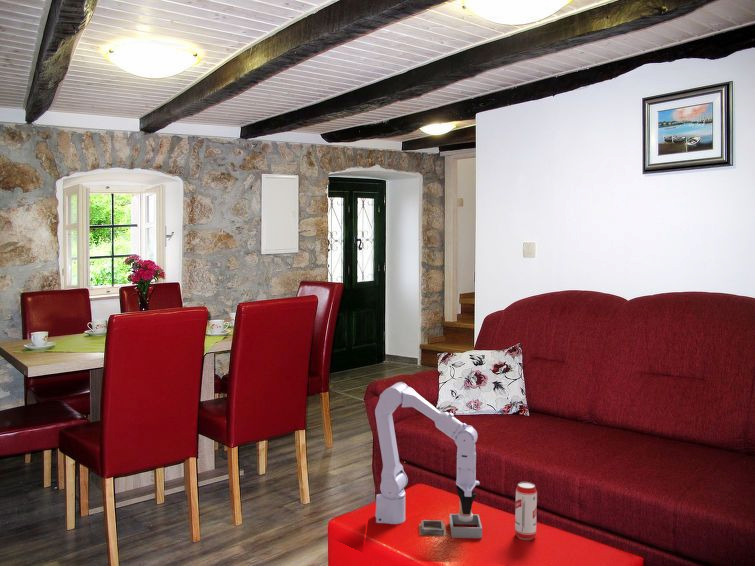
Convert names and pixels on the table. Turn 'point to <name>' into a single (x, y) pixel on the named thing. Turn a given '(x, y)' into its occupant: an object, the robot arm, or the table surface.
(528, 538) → the beer can
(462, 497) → the robot arm
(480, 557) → the table surface
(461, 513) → the peach cylinder
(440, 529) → the square framed plate
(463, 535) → the bin
